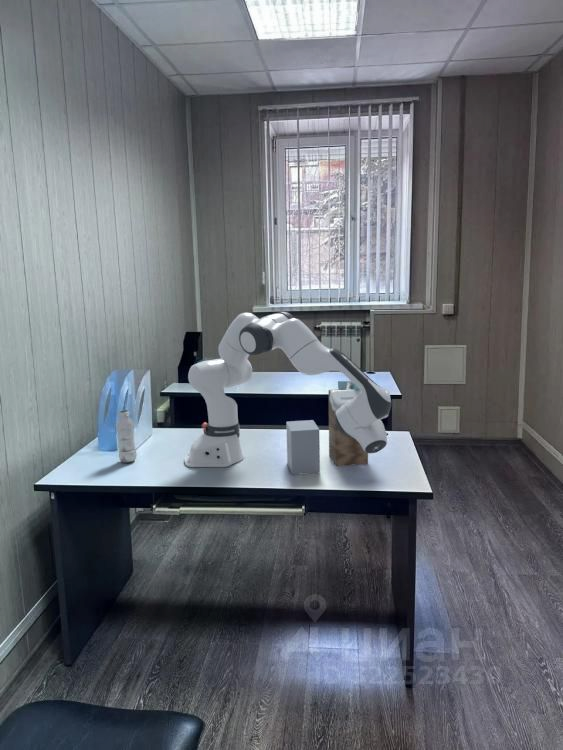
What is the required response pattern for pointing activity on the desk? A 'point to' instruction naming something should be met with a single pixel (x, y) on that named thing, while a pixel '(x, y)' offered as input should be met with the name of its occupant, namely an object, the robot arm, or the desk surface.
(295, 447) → the slate base
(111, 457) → the desk surface
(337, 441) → the walnut pedestal
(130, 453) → the plastic bottle
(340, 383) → the teal bar
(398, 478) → the desk surface
